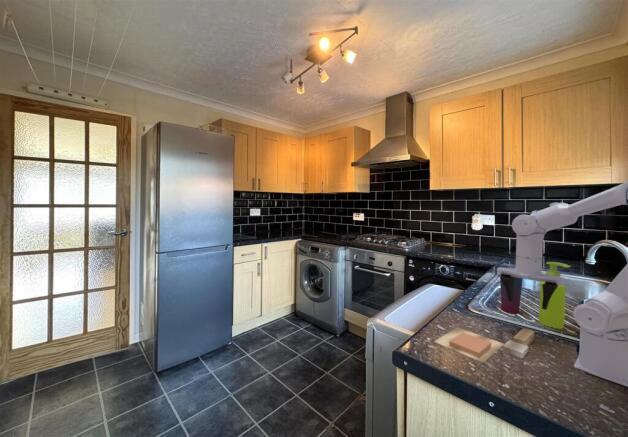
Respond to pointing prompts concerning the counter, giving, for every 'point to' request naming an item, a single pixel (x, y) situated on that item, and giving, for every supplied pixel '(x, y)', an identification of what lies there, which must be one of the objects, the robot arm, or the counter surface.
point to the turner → (519, 343)
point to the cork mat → (494, 344)
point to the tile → (470, 344)
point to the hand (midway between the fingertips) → (527, 304)
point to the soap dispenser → (553, 302)
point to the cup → (515, 304)
